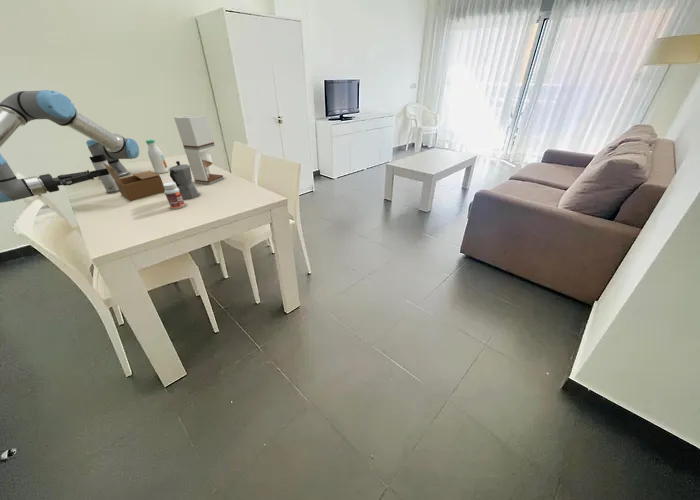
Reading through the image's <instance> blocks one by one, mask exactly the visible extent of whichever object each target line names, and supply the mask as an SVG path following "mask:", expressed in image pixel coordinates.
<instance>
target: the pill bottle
mask: <svg viewBox="0 0 700 500" xmlns="http://www.w3.org/2000/svg"><path fill="white" fill-rule="evenodd" d="M163 186H164V189H165V191H164V192H163V193H164V194H165V197H166V200H167V202H168V204H169V207H170V209H172V210H177V209H182V208H184V207H185V205H186V204H185V202H184V199H183V198H182V196H181V193H180V190H179V188H178V187H177V185H176V183H175V182H174V181H169V182H165V183H163Z"/></svg>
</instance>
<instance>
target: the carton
mask: <svg viewBox="0 0 700 500" xmlns="http://www.w3.org/2000/svg"><path fill="white" fill-rule="evenodd" d="M119 179H120V180H121V182H122V183H123V184H121V183H119V182H118V181H116V180H115V182H116V184H117V186H118V188H119V190H120V191H119V193H120V195H121V196H122V197H123V198H125V199H127V200H128V201H129V202H133V201H138V200H141V199H144V198H148V197H152V196H156V195H159V194H164V193H165V192H164V191H165V190H166V189H164V186H163V184H164V183H163V180H162V178H161V176H160V174H158V173H155V171H153V170H146V171H141V172H136V173H132V175H129V176H126V177H125V176H124V177H120V178H119Z"/></svg>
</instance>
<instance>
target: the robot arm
mask: <svg viewBox="0 0 700 500" xmlns="http://www.w3.org/2000/svg"><path fill="white" fill-rule="evenodd" d="M34 120H47V121H51V122H53V123H54V124H57V125H58V126H61V127H68V128H70V129H72V130H74V131H75V132H77V133H79V134H81V135H83V136H85V137H87V138H89V139H87V140H86V141H85V143H86V146H87V149H88V150H89V152H90V154H91V157H93V156H95V155H100V154H104V156H105V158H106V160H107V162H108V164H109V166H111V167H112V168H113V170H114V171H115V173H116V174H117V176H118V177H119V178H124V177H125V176H126V177H127V175H129V170H128V169H127V168H126V167H125V166H124V164H123V163H122V162H121V160H134V159H137V158H138V157H139V155H140V147H139V144H138V142H137V141H136V140H135V139H134V138H131V137H129V138H126V137H124V136H122V135H120V134H119V133H114V132H111V131H110V130H108V129H107V128H104V127H103V126H101V125H100V124H98V123H96V122H95V121H94V120H91V119H90V118H88V117H86V116H85V115H83V114H82V113H80V112H79V111H78V110H77V108H76V106H75V105H74V103H73V102H72V100H71V99H70V98H69V97H68V96H67V95H66V94H64V93H62V92H59V91H57V90H50V89H44V90H43V89H42V90H22V91H15V92H14V93H11V94H10V95H8V96H7V97H5V98H4V99H3V100H2V101H1V102H0V148H1V147H3V145H4V144H5V143H6V142H7V141H8V140H9V139H10V138H11V136H12V135H13V134H14V133H15V132H16V130H18V129H19V127H25V126H26V125H27V124H28V123H29V122H31V121H34ZM104 175H109V172H108V170H107V169H106V168H105V169H100V170H95V169H94V170H89V169H87V170H84V171H79V172H71V173H67V174H59V175H57V176H56V177H53V176H52V174H50V173H45V174H40V175H38V176H37V175H34V176H28V177H24V178H18V177H17V175H15V173H14V170H12V168H11V166H10V165H9V163H8V162H7V160H6V159H5V157H4V156H3V155H2V154H1V153H0V204H2V203H3V204H4V203H8V202H15V201H18V200H22V199H27V198H31V197H36V196H38V197H42V195H45V194H47V193H54V192H59V191H60V187H59V186H66V187H67V186H72V185H75V184H79V183H83V182H87V181H91V180H92V181H94V180H95V178H99V176H104Z"/></svg>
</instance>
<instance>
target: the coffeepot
mask: <svg viewBox="0 0 700 500" xmlns="http://www.w3.org/2000/svg"><path fill="white" fill-rule="evenodd" d="M175 163H176V165H174V166H171V167H169V168H168V171H169V177H170V178H171V180H172V182H175V183H176V185H177V188H179V190H180V193H181V196H182V198H183V200H192V199H195V198H197V197H199V194H200V193H199V191H198V190H197V188H196V186H195V184H194V182H193V180H192V179H193V175H192V171H191V168H190V165H189V163H188V164H181V163H180V160H179V161H178V160H176V161H175Z"/></svg>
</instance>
